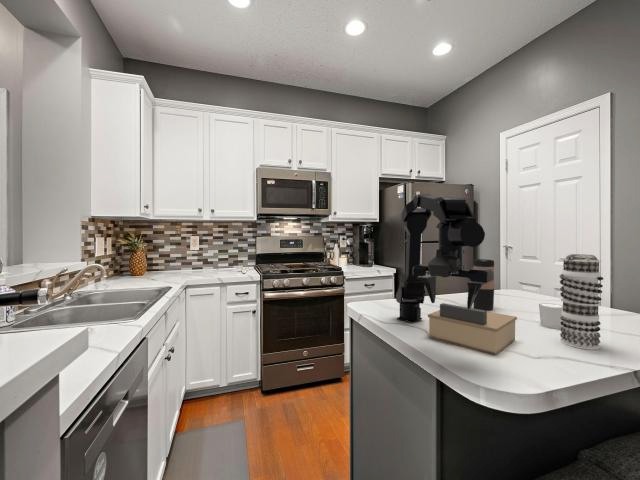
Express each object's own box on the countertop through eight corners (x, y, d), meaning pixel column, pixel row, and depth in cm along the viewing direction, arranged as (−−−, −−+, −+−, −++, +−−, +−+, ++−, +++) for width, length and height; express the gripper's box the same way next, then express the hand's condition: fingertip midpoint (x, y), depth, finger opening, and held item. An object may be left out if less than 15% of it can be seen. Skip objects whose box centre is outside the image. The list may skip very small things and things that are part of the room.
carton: (429, 337, 90) (429, 317, 90) (453, 326, 101) (453, 308, 101) (495, 355, 77) (495, 331, 77) (515, 340, 87) (515, 319, 87)
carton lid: (427, 317, 90) (427, 302, 90) (452, 307, 101) (452, 295, 101) (496, 332, 76) (496, 315, 76) (516, 319, 87) (516, 304, 87)
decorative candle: (577, 337, 90) (578, 253, 89) (611, 349, 80) (613, 255, 80) (550, 338, 88) (551, 253, 88) (581, 351, 79) (583, 256, 79)
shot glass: (553, 330, 96) (554, 308, 96) (533, 324, 103) (533, 303, 103) (569, 328, 98) (570, 306, 98) (548, 322, 105) (549, 302, 105)
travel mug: (468, 307, 126) (469, 259, 125) (481, 305, 129) (481, 258, 128) (485, 311, 119) (486, 261, 118) (498, 309, 122) (498, 260, 121)
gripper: (402, 245, 79) (402, 305, 79) (479, 247, 66) (478, 319, 66) (422, 244, 87) (421, 298, 87) (494, 246, 73) (494, 309, 74)
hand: (450, 305), depth 78 cm, fingers open, 9 cm apart
